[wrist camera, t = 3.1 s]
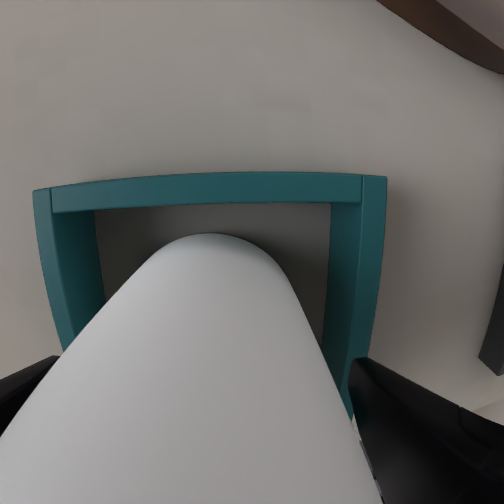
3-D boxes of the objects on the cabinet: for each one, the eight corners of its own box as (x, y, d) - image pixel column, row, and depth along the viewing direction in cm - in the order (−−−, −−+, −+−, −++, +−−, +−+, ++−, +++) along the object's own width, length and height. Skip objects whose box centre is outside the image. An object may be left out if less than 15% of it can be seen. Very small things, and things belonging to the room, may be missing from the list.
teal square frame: (329, 400, 14) (345, 443, 11) (118, 401, 13) (100, 442, 10) (351, 173, 11) (388, 176, 8) (75, 183, 10) (31, 190, 7)
